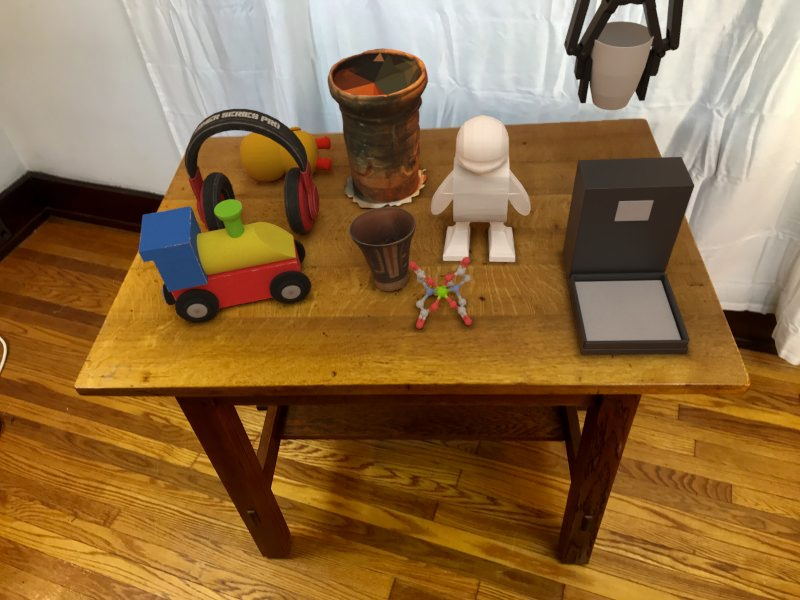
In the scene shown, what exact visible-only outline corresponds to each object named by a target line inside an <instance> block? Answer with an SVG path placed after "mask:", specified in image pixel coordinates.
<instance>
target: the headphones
mask: <svg viewBox="0 0 800 600" xmlns="http://www.w3.org/2000/svg"><path fill="white" fill-rule="evenodd" d="M290 128H291V127H288V126H287V125H286V124H284V123H283V122H282V121H280V120H279V119H277V118H276V117H273V116H271V115H270V114H268V113H264V112H261V111H259V110H256V109H255V110H254V109H249V108H230V109H223V110H221V111H220V110H219V111H217V112H213V113H212V114H210V115H208V116H207V117H205V118H204V119H203V120H202V121H201V122H200V123H198V125H197V127H196V128H195V129H194V131H192V134H191V136H190V139H189V141H188V144H187V147H186V149H185V154H184V168H185V170H186V173H187V175H188V182H189V185H190V187H191V190H192V193H193V195H194V197H195V199H196V210H197V214H198V217H199V218H200V221H201V223H203V224H204V226H205V228H206V230H207V232H209V231H215V230H220V229H225V225H224V222H223V221H222V220H220V219H219V218H218V217H217V216H216V215H215V212H214V209H215V207H216V206H217V205H218V204H219V203H220V202H222V201H225V200H230V199H233V200H236V196H235V191H234V188H233V185H232V183H231V180H230V179H229V177H228V176H227V175H226V174H224V173H223V172H218V171H214V172H210V173H209V174H208V175H206V177H205V178H204V179H203V176H202V174H201V169H200V166H199V165H198V160H199V159H198V158H199V153H200V150H201V147H202V145H203V144H204V143H205V141H206V140H207V139H209V138H211V137H213V136H215V135H218V134H220V133H224V132H231V131H242V132H243V131H244V132H249V133H252V132H253V133H257V134H260V135H263V136H265V137H268V138H270V139H272V140H273V141H275V142H276V143H278V144H280V145H281V146H282V147H283V148H285V149H286V150H287V151H288V152H289V154H290V155H291V156H292V157H293V159H294V160H295V162H296V163H297V165H298V166H299V168H297V167H294V168H291V169H290V170H289V171H288V172H287V173H285V175H284V182H283V183H284V184H283V204H284V211H285V216H286V220H287V223H288V226H289V229H290V230H291V231H292V232H293V233H295V235H304V234H305V235H306V234H307V233H308V232H309V231H310V230H311V229H312V228H313V224H314V220H316V219H317V218H318V217H319V213H320V194H319V190H318V187H317V185H316V183H315V182H314V178H313V174H312V172H311V167H310V163H309V160H308V159H307V154H306V150H305V147H304V146H303V144H302V142H301V141H300V139H299V138H298V137H297V136H296V134H295V133H294V132H293V131H292V130H291V129H290Z"/></svg>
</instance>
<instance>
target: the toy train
mask: <svg viewBox="0 0 800 600" xmlns="http://www.w3.org/2000/svg"><path fill="white" fill-rule="evenodd" d="M214 212H215V215H216V216H217V217H218V218H219V219H220V220H222V221H223V222H224V225H225V229H220V230H215V231H205V232H203V231H202V229H201V227H200V224H199V222H198V220H197V217H196V215H195V212H194V209H193V207H192V206H191V205H189V206H183V207H178V208H173V209H168V210H167V209H166V210H161V211H156V212H151V213H145V214H142V217H141V218H142V219H141V226H140V227H141V228H140V236H139V245H138V254H139V256H140V258H141V260H142V262H143V263H147V262H152V261H153V263H154V265H155V267H156V269H157V272H158V273H159V276H160V278H161V280H162V282H163V284H162V286H161V290H160V291H161V297H162V300H163V302H164V303H165V304H166V305H168V306H174V305H175V307H174V308H175V312H176V314H177V315H178V317H180V318H181V319H182V320H184V321H185V322H186V321H187V322H190V323H204V322H206V321H209V320H211V319H213V318H214V317H215V316H217V314H218V313H219V310H220V309H223V308H227V307H232V306H238V305H241V304H247V303H252V302H257V301H262V300H267V299H273V300H275V301H277V302H279V303H281V304H282V303H283V304H293V303H297V302H300V301H302V300H303V299H305V298H307V296H308V295H309V294H310V293H311V290H312V281H311V279H310V278H309V276H308V275H307V274H306V273H304V272H303V271H302V263H303V262H304V260H305V258H306V256H307V255H306V254H307V252H306V249H305V246H304V244H303V243H302V242H301V241H300V240H298V239H296V238H294V235H293V234H291V233H290V232H289V231H287V230H285V229H284V228H282V227H280V226H278V225H276V224H273V223H270V222H266V221H258V222H252V223H246V224H243V220H242V218H241V215H242V213H243V205H242V203H241V201H239V200H238V199H235V200H233V199H230V200H225V201H222V202H220V203H219V204H218V205H217V206H216V207H215V209H214Z"/></svg>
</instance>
